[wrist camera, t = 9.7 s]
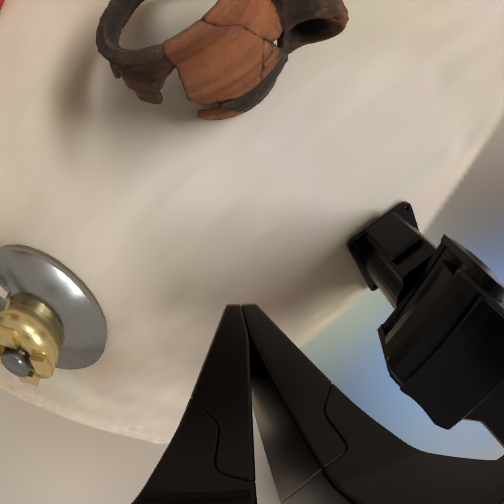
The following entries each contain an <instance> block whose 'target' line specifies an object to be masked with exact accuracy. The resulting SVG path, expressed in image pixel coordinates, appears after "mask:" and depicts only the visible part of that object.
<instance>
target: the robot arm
mask: <svg viewBox="0 0 504 504" xmlns="http://www.w3.org/2000/svg"><path fill="white" fill-rule="evenodd" d="M405 207H406V209H405ZM353 244H355V245H354V246H353V247H352V245H353ZM347 248H348V250H349V252H350V253H351V255H352V257H353V259H354V261H355V262H356V264H357V266H358V268H359V270H360V272H361V274H362V275H363V277H364V279H365V281H366V283H367V285H368V287H369V288H370V290H371V291H374V290H376V289H378V288H379V289H380V290H381V291H382V293H383V294H384V295H385V297H386V298H387V300H388V301H389V302H390V303H391V305H392V307H393V308H394V309H395V310H394V311H393V312H392V314H391V315H390V316H389V318H388V319H387V320H386V321H385V322H384V324H381V326H380V327H379V328H378V334H379V338H380V341H381V345H382V349H383V353H384V357H385V361H386V365H387V369H388V371H389V373H390V377H391V378H392V379H393V380H394V381H395V382H396V383H397V384H398V385H399V386H400V390H401V391H402V392H403V393H405V394H407V395H408V396H410V397H411V398H412V399H413V400H415V401H416V402H417V403H418V404H419V405H420V406H421V407H422V408H423V410H424V411H425V412H426V413H427V415H428V416H429V417H430V419H431V420H432V421H433V423H434V424H435V425H437V426H440V427H442V428H444V429H448V430H449V429H451V428H452V427H453V426H455V425H456V424H457V423H458V422H460V421H461V420H462V419H463V420H470V421H477V422H481V423H482V424H483V425H484V426H485V427H486V428H487V429H488V430H489V431H490V433H491V434H492V435H493V436H494V437H495V438H496V439H497V441H498V442H499V443H500V444H501V445H502V446H503V448H504V285H503V283H502V282H501V281H500V280H499V279H498V277H497V276H496V275H495V274H494V273H493V272H492V270H491V269H490V268H489V267H488V266H487V265H485V264H484V263H483V262H482V261H481V260H480V259H479V258H477V257H476V256H475V255H474V254H473V253H472V252H470V251H469V250H468V249H466V248H465V247H463V246H462V245H460V244H459V243H457V242H456V241H455V240H453V239H452V238H450V237H449V236H447V235H446V234H444V235H443V237H442V239H441V243H440V245H439V246H438V247H437V246H435V245H434V244H433V243H432V242H431V241H430V240H429V239H427V238H426V237H425V236H424V235H423V234H422V233H420V232H419V229H418V226H417V222H416V219H415V216H414V213H413V210H412V207H411V205H410V204H409V203H408V202H406V201H404V202H402V203H401V204H399V205H398V206H397V207H395V208H394V209H393V210H391V211H390V212H389V213H387V214H386V215H384V216H383V217H382V218H380V219H379V220H377V221H376V222H375V223H373V224H372V225H370V226H369V227H368V228H366V229H365V230H363V231H362V232H361V233H359V234H358V235H356V236H355V237H353V238H352V239H351V240H349V241H348V243H347ZM373 285H374V286H373ZM252 407H253V410H254V414H255V418H256V421H257V425H258V428H259V432H260V436H261V439H262V443H263V446H264V450H265V453H266V457H267V460H268V464H269V466H270V470H271V473H272V477H273V480H274V484H275V487H276V490H277V493H278V496H279V499H280V502H281V504H504V455H503V456H502V457H500V458H499V459H497V460H478V459H468V458H459V457H451V456H444V455H437V454H432V453H427V452H424V451H421V450H418V449H416V448H413V447H412V446H410V445H408V444H407V443H405V442H404V441H402V440H401V439H399V438H398V437H397V436H395V435H394V434H393V433H391V432H390V431H388V430H387V429H386V428H384V427H383V426H382V425H380V424H379V423H378V422H376V421H375V420H374V419H372V418H371V417H370V416H369V415H367V414H366V413H365V412H364V411H362V410H361V409H360V408H359V407H358V406H356V405H355V404H354V403H353V402H352V401H351V400H350V399H349V398H348V397H347V396H345V395H344V394H343V393H342V392H341V391H340V390H339V389H338V388H337V387H336V386H335V385H334V384H331V381H330V380H329V379H328V378H327V377H326V376H325V375H324V374H323V373H322V372H321V371H320V370H319V369H318V368H317V367H316V366H315V365H314V364H313V363H312V362H311V361H310V360H309V359H308V358H307V357H306V356H305V355H304V354H303V352H302V351H301V350H300V349H299V348H298V347H297V346H296V345H295V344H294V343H293V342H292V341H291V340H290V339H289V338H288V337H287V336H286V335H285V334H284V333H283V332H282V331H281V330H280V329H279V328H278V326H277V325H276V324H275V323H274V322H273V321H272V320H271V319H270V318H269V317H268V316H267V315H266V314H265V313H264V312H263V311H262V310H261V308H260V307H259V306H258V305H256V304H243V305H242V306H241V305H239V304H231V305H226V307H225V309H224V312H223V314H222V317H221V320H220V322H219V325H218V327H217V330H216V332H215V335H214V338H213V340H212V343H211V345H210V348H209V351H208V353H207V356H206V358H205V361H204V364H203V366H202V369H201V371H200V374H199V377H198V379H197V382H196V384H195V387H194V390H193V392H192V395H191V398H190V400H189V402H188V405H187V407H186V410H185V412H184V415H183V417H182V419H181V422H180V424H179V426H178V428H177V430H176V432H175V434H174V436H173V438H172V440H171V442H170V444H169V445H168V447H167V449H166V451H165V452H164V454H163V456H162V458H161V459H160V461H159V463H158V464H157V466H156V468H155V469H154V471H153V473H152V474H151V476H150V478H149V480H148V481H147V483H146V485H145V486H144V488H143V489H142V490H141V492H140V493H139V495H138V496H137V497H136V499H135V500H134V501H133V502H132V503H131V504H257V497H256V484H255V462H254V461H255V460H254V439H253V418H252V417H253V416H252Z"/></svg>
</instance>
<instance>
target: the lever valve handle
mask: <svg viewBox="0 0 504 504" xmlns="http://www.w3.org/2000/svg"><path fill="white" fill-rule="evenodd" d="M64 339H65V333H64V329H63V327H62V325H61V323H60V321H59V320H58V318H57V317H56V316H55V315H54V314H53V313H52V311H51V310H49V309H48V308H47V307H46V306H45V305H44V304H42V303H41V302H39V301H37V300H36V299H34V298H32V297H29V296H26V295H22V294H14V295H11V296H9V297H8V298H7V299H6V301H5V303H4V304H3V306H2V307H1V309H0V363H2V362H1V356H2V354H3V352H4V350H5V347H9V348H13V349H16V350H17V348H19V349H20V350H22V351H23V352H24V353H25V354H26V355H27V356H28V357H29V360H30V362H31V364H32V365H31V367H30V370H29V373H28V376H27V377H25V378H23V377H19V376H18V377H19V379H20V380H21V381H22V382H26V383H29V384H32V385H36V386H38V383H39V380H40V379H45V378H49V377H51V376H52V374H53V372H54V369H55V366H56V363H57V360H58V357H59V354H60V351H61V348H62V345H63V343H64Z"/></svg>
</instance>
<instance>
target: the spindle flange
mask: <svg viewBox="0 0 504 504" xmlns="http://www.w3.org/2000/svg"><path fill="white" fill-rule="evenodd" d="M14 294H22V295H26V296H29V297H32V298H34V299H36V300H37V301H39V302H41V303H42V304H44V305H45V306H46V307H47V308H48V309H49V310H51V311H52V313H53V314H54V315H55V316H56V317H57V318H58V320H59V321H60V323H61V325H62V327H63V329H64V333H65V339H64V343H63V345H62V348H61V351H60V354H59V357H58V360H57V363H56V366H55V367H56V368H61V369H80V368H84V367H88V366H90V365H92V364H93V363H95V362H96V361H97V360H98V359H99V358H100V357H101V355H102V353H103V351H104V348H105V344H106V340H107V324H106V320H105V317H104V314H103V312H102V309H101V307H100V305H99V304H98V302H97V300H96V298H95V297H94V296H93V294H92V293H91V291H90V290H89V289H88V288H87V286H86V285H85V284H84V283H83V282H82V281H81V280H80V279H79V278H78V277H77V276H76V275H75V274H74V273H73V272H72V271H71V270H70V269H69V268H67V267H66V266H65V265H63V264H62V263H61V262H59V261H58V260H56V259H55V258H53V257H51V256H50V255H48V254H46V253H44V252H42V251H39V250H37V249H34V248H31V247H27V246H23V245H6V246H3V247H0V309H1V307H2V306H3V304H4V303H5V301H6V299H7V298H8V297H9V296H11V295H14ZM1 362H2V364H3V365H4V366H5V368H6V369H8V370H9V371H10V372H11V373H13V374H15V375H16V376H19V377H23V378H25V377H27V376H28V373H29V370H30V367H31V365H32V364H31V362H30V360H29V357H28V356H27V355H26V354H25V353H24V352H23V351H22V350H20V349H19V348H17V350H16V349H13V348H9V347H5V350H4V352H3V354H2V356H1Z"/></svg>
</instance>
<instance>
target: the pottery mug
mask: <svg viewBox="0 0 504 504" xmlns="http://www.w3.org/2000/svg"><path fill="white" fill-rule="evenodd" d="M143 1H144V0H111V1H110V2H109V4H108V7H107V8H106V9H105V11H104V12H103V14H102V16H101V18H100V22H99V25H98V28H97V31H96V32H97V33H96V44H97V47H98V51H99V52H100V53H101V54H102V56H103V57H104V58H106V59H107V60H108V61H109V62H110V67H111V69H112V72H113V74H114V76H115V78H116V79H118V78H120V77H121V76H122V78H123V79H124V81H125V83H126V85H127V86H128V87H129V88H131V89H132V90H134V91H135V92H136V94H137V96H138V97H139V99H140V100H142V101H146V102H149V103H153V104H160V103H161V102H162V99H163V98H162V95H161V92H160V90H161V89H162V87H163V84H164V82H165V80H166V78H167V77H168V75H170V74H171V72H172V71H173V69H174V68H177V70H178V74H179V78H180V80H181V81H182V83H183V87H184V90H185V92H186V95H187V98H188V99H189V100H190V101H194V102H195V103H198V104H202V105H205V104H209V103H212V102H216V101H217V102H218V105H220V106H221V107H217V108H211V109H203V110H199V111H198V117H199V118H200V119H211V120H221V119H227V118H231V117H234V116H237V115H239V114H242V113H244V112H247V111H248V110H250V109H252V108H253V107H255V106H256V105H257V104H259V103H260V102H261V101H262V100H263V99H264V98H265V97H266V96H267V95H268V94H269V92H270V91H271V89H272V88H273V86H274V84H275V82H276V80H277V77H278V75H279V74H280V72H281V71H282V69H283V67H284V65H285V63H286V62H287V61H288V54H290V53H291V52H293V51H294V50H295V49H297V48H299V47H301V46H304V45H306V44H311V43H316V42H320V41H323V40H327V39H330V38H332V37H334V36H336V35H338V34H340V33H341V32H342V31H343V30H344V29H345V26H346V23H347V21H348V20H349V18H348V15H347V14H348V10H347V9H346V7H345V6H344V3H343V1H342V0H218V1H217V3H216V4H215V5H214V6H213V7H212V8H211V9H210V10H209V11H208V12H207V13H206V14H205V15H204V16H203V17H202V19H201V20H199V21H197V22H195V23H194V24H193V25H191V26H190V27H189V28H187V29H185V30H184V31H182V32H180V33H179V34H177V35H175V36H174V37H172V38H170V39H168V40H166V41H165V42H164V43H162V44H159V45H155V46H151V47H148V48H144V49H139V50H128V49H123V48H121V47H120V46H119V44H118V42H119V37H120V33H121V29H122V28H123V27H124V26H125V25H126V23H127V22H128V20H129V18H130V17H131V15H132V14H133V12H134V11H135V9H136V8H137V7H138V6H139V5H140V4H141V3H142V2H143ZM276 39H277V46H276V45H275V44H273V42H274V41H275V40H276Z"/></svg>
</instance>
